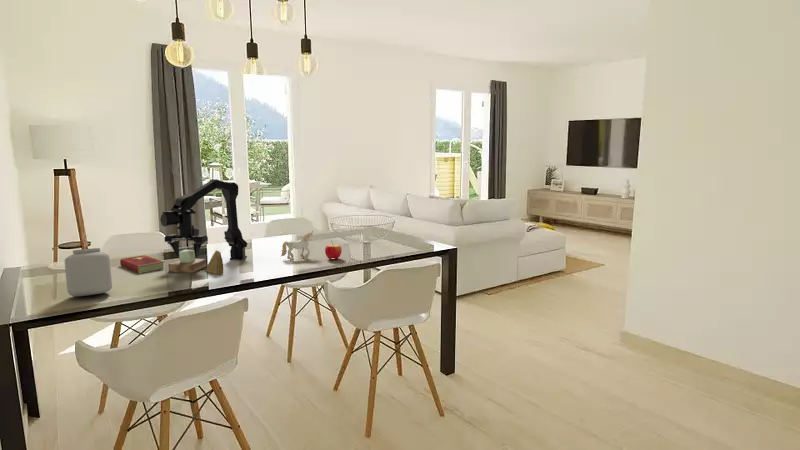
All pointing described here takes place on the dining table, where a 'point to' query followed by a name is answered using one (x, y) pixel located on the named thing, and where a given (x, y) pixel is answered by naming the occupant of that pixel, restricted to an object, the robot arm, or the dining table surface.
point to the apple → (333, 251)
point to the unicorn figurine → (297, 246)
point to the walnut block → (187, 266)
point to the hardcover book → (142, 263)
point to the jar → (88, 272)
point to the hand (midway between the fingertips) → (187, 256)
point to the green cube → (187, 256)
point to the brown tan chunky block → (215, 264)
